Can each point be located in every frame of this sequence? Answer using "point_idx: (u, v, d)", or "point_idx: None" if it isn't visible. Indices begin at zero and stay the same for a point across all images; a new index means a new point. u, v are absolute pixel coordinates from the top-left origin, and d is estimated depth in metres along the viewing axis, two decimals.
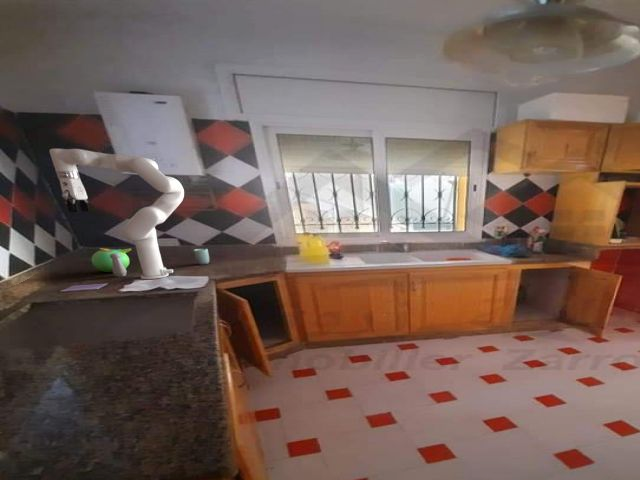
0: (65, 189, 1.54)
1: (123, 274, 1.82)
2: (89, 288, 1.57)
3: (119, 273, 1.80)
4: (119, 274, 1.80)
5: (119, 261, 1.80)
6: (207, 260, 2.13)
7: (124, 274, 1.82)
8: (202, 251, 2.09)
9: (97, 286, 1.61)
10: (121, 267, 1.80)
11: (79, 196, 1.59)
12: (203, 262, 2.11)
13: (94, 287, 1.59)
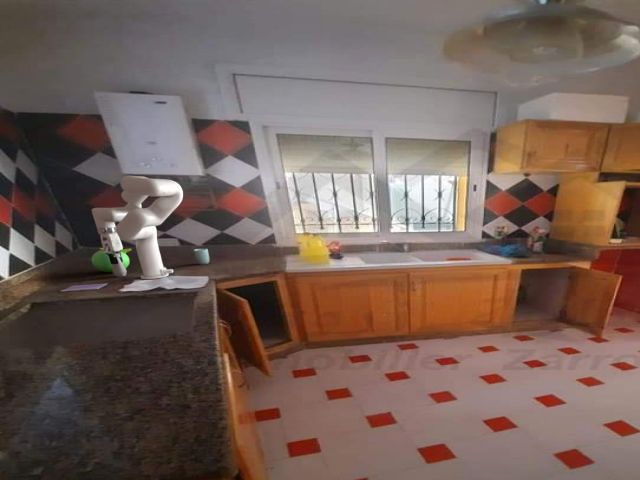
0: (105, 243, 1.72)
1: (123, 274, 1.82)
2: (89, 288, 1.57)
3: (119, 273, 1.80)
4: (119, 274, 1.80)
5: (119, 261, 1.80)
6: (207, 260, 2.13)
7: (124, 274, 1.82)
8: (202, 251, 2.09)
9: (97, 286, 1.61)
10: (121, 267, 1.80)
11: (116, 248, 1.76)
12: (203, 262, 2.11)
13: (94, 287, 1.59)
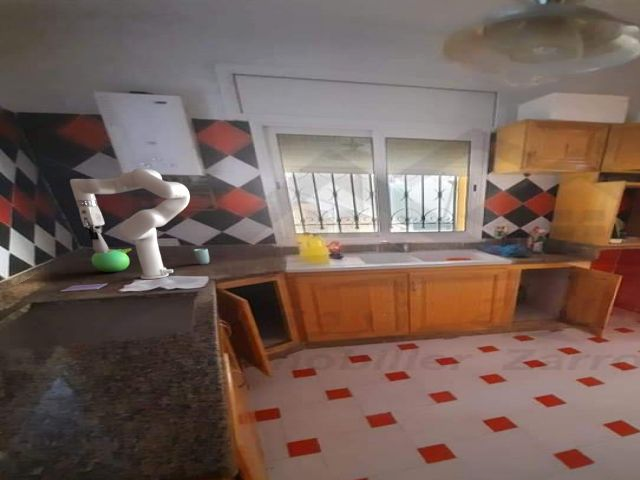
0: (84, 217, 1.63)
1: (104, 251, 1.72)
2: (89, 288, 1.57)
3: (100, 250, 1.71)
4: (100, 251, 1.71)
5: (100, 237, 1.71)
6: (207, 260, 2.13)
7: (105, 251, 1.73)
8: (202, 251, 2.09)
9: (97, 286, 1.61)
10: (102, 243, 1.71)
11: (97, 223, 1.67)
12: (203, 262, 2.11)
13: (94, 287, 1.59)
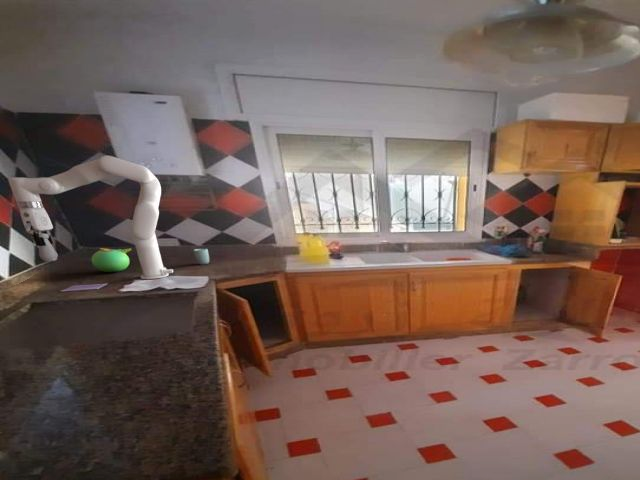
0: (26, 220, 1.44)
1: (53, 258, 1.53)
2: (89, 288, 1.57)
3: (47, 257, 1.52)
4: (48, 258, 1.52)
5: (47, 243, 1.51)
6: (207, 260, 2.13)
7: (54, 258, 1.54)
8: (202, 251, 2.09)
9: (97, 286, 1.61)
10: (50, 250, 1.52)
11: (42, 227, 1.48)
12: (203, 262, 2.11)
13: (94, 287, 1.59)
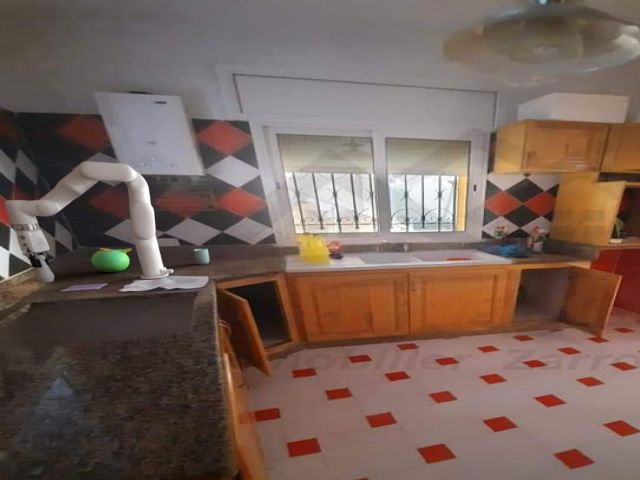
0: (22, 243, 1.43)
1: (49, 279, 1.53)
2: (89, 288, 1.57)
3: (44, 279, 1.51)
4: (44, 280, 1.52)
5: (43, 264, 1.51)
6: (207, 260, 2.13)
7: (51, 279, 1.53)
8: (202, 251, 2.09)
9: (97, 286, 1.61)
10: (46, 271, 1.52)
11: (39, 249, 1.48)
12: (203, 262, 2.11)
13: (94, 287, 1.59)
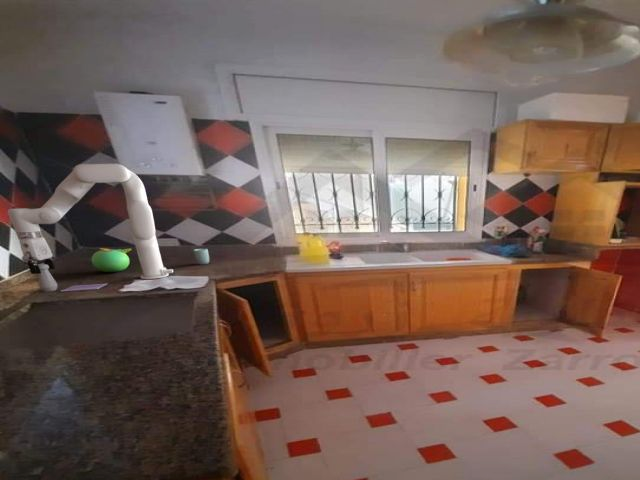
0: (26, 251, 1.44)
1: (52, 288, 1.54)
2: (89, 288, 1.57)
3: (47, 288, 1.53)
4: (48, 289, 1.53)
5: (47, 273, 1.52)
6: (207, 260, 2.13)
7: (54, 288, 1.55)
8: (202, 251, 2.09)
9: (97, 286, 1.61)
10: (50, 280, 1.53)
11: (42, 256, 1.49)
12: (203, 262, 2.11)
13: (94, 287, 1.59)
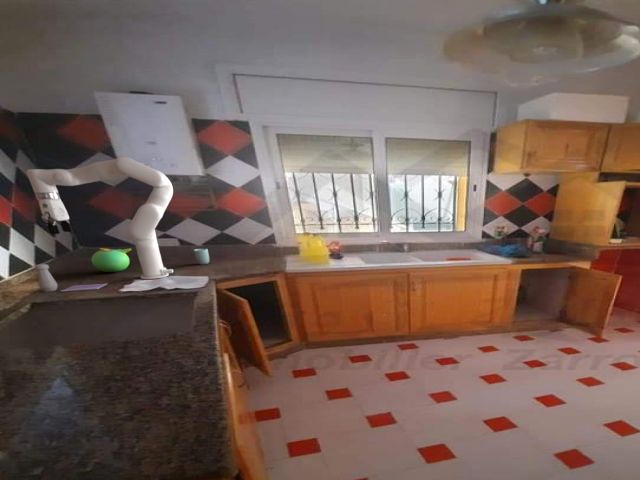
0: (45, 211, 1.49)
1: (52, 288, 1.54)
2: (89, 288, 1.57)
3: (47, 288, 1.53)
4: (48, 289, 1.53)
5: (47, 273, 1.52)
6: (207, 260, 2.13)
7: (54, 288, 1.55)
8: (202, 251, 2.09)
9: (97, 286, 1.61)
10: (50, 280, 1.53)
11: (60, 217, 1.53)
12: (203, 262, 2.11)
13: (94, 287, 1.59)
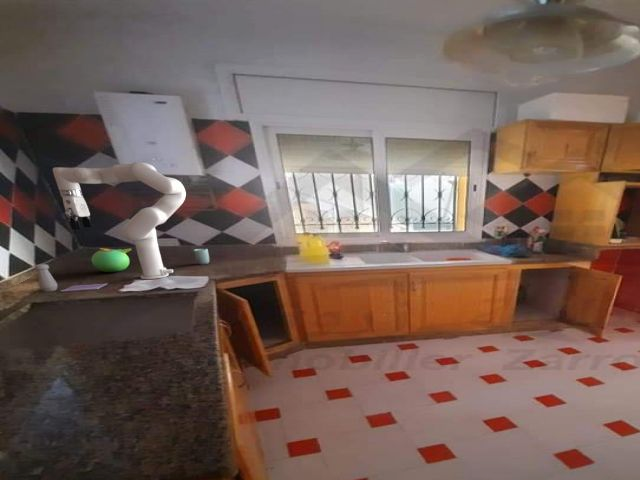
0: (68, 207, 1.56)
1: (52, 288, 1.54)
2: (89, 288, 1.57)
3: (47, 288, 1.53)
4: (48, 289, 1.53)
5: (47, 273, 1.52)
6: (207, 260, 2.13)
7: (54, 288, 1.55)
8: (202, 251, 2.09)
9: (97, 286, 1.61)
10: (50, 280, 1.53)
11: (82, 213, 1.61)
12: (203, 262, 2.11)
13: (94, 287, 1.59)
